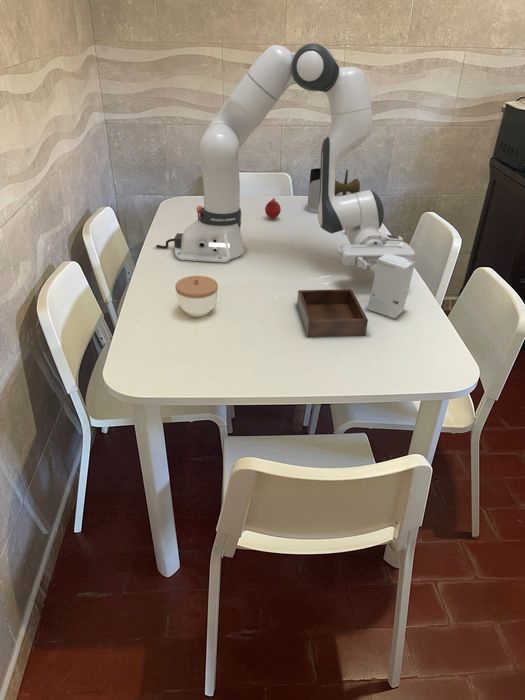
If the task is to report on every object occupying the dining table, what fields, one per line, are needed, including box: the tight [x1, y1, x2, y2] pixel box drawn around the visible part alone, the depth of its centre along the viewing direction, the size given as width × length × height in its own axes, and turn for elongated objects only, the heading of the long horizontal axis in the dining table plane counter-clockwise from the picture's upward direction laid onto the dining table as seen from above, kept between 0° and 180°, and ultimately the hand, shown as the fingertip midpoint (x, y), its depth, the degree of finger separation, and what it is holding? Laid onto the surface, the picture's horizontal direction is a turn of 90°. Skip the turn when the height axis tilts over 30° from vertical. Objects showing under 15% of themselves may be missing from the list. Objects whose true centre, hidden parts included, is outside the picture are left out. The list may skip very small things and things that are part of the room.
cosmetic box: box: [367, 253, 416, 320], centre depth 138 cm, size 8×6×15 cm
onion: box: [264, 197, 282, 220], centre depth 198 cm, size 6×6×8 cm
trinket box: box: [175, 275, 219, 318], centre depth 136 cm, size 11×11×9 cm
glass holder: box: [305, 167, 320, 214], centre depth 209 cm, size 9×14×15 cm, turn 170°
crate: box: [296, 288, 369, 338], centre depth 136 cm, size 15×17×4 cm
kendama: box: [335, 169, 361, 196], centre depth 192 cm, size 6×10×20 cm, turn 101°
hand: (385, 267), depth 141 cm, fingers open, 8 cm apart
